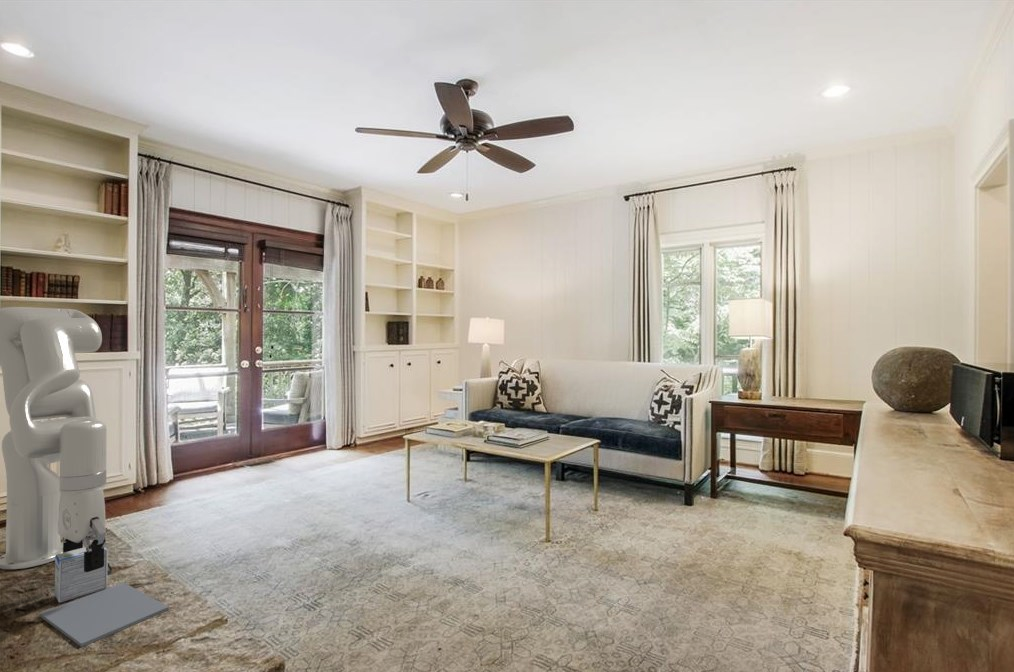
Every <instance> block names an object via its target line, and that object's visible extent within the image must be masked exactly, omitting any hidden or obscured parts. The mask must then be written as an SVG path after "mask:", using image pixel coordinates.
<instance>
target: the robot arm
mask: <svg viewBox="0 0 1014 672" xmlns="http://www.w3.org/2000/svg"><path fill="white" fill-rule="evenodd" d="M102 335H103V334H102V330H101V328H100V326H99V324H98V322H96V320H94V319H93V318H92V317H90V316H89V315H87V314H85V312H82V311H80V310H78V309H74V308H73V309H72V308H56V307H55V308H54V307H35V306H33V307H32V306H11V307H9V306H8V307H2V308H0V369H1V375H2V383H3V384H2V385H3V391H4V392H3V393H4V400H5V407H6V411H7V414H8V416H9V426H10V427H9V428H10V431H8V432H7V433H6V434H5V435H4V436H3V438H2V441H1V452H2V457H3V461H4V462H3V463H4V467H5V473H6V475H5V476H6V478H5V479H6V519H5V521H6V522H5V523H6V524H5V527H6V529H5V530H6V531H5V536H6V537H5V541H6V542H5V553H4V554H2V555H1V556H0V569H1V570H19V569H20V570H22V569H27V568H28V569H29V568H33V567H34V568H35V567H37V566H41V565H44V564H48V563H50V562H51V563H52V562H53V561H55V555H57V554H61V553H64V552H68V551H72V550H76V549H80V548H84V547H85V548H86V551H87V552H84V572H90V571H93V570H96V569H99V568H102V567H103V566H104V548H105V547H106V541H107V540H106V535H107V529H106V504H105V503H106V501H105V494H104V488H105V487H107V425H106V424H105V422H103V421H102V420H101V421H100V420H98V419H97V416H96V415H97V414H96V409H95V400H94V395H93V392H92V389H91V387H90V386H89V384H88V383H87V382H86V381H84V380H82V379H80V377H81V372H80V369H79V365H78V361H77V357H76V354H88V353H89V354H90V353H95V352H96V351H98V350H99V349H100V348H101V346H102V342H103V336H102ZM54 463H59V474H57V473H56V472H55V471H53V470H52V469H51V468H50V467H49V466H48V465H50V464H54ZM61 537H62V539H61ZM61 540H62V542H61ZM90 541H92V542H90ZM83 545H84V547H83Z"/></svg>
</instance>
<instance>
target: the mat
mask: <svg viewBox="0 0 1014 672" xmlns="http://www.w3.org/2000/svg"><path fill="white" fill-rule="evenodd" d="M167 611H169V606H168V605H166V604H164V603H162V602H160V601H159V600H156V599H154V598H153V597H151V596H150V595H147V594H146V593H144V592H141V591H140V590H138V589H136V588H135V587H133V586H131V585H129V584H128V583H126V582H121V583H120V584H119V583H118V584H117V585H114V586H110V587H107V588H106V589H103V590H99V591H96V592H93V593H90V594H87V595H84V596H83V597H79V598H77V599H73V601H69V602H66V603H64V604H61V605H58V606H56V607H51V608H49V609H46V610H44V611H41V612H38V613H39V617H40V618H41V619H43V621H45V622H47V623H48V624H49V625H51V626H52V627H53V628H54V629H56V630H58V631H59V632H60V633H62V634H63V635H64V636H66V637H67V638H69V640H71V641H72V642H74V643H75V644H76V645H78V646H79V647H80V648H83V647H85V646H88V645H90V644H92V643H95V642H97V641H99V640H102V639H104V638H106V637H108V636H111V635H114V634H115V633H118V632H120V631H123V630H125V629H127V628H130V627H132V626H134V624H135V625H137V624H139V623H141V621H142V622H144V621H147V620H149V619H151V618H154V617H155V616H158V615H161V614H162V613H165V612H167Z"/></svg>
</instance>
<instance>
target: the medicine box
mask: <svg viewBox="0 0 1014 672" xmlns="http://www.w3.org/2000/svg"><path fill="white" fill-rule="evenodd" d="M84 552H87V551H86V548H85V546H84V547H83V548H80V549H76V550H72V551H68V552H64V553H61V554H57V555H55V560H54V561H55V562H54V595H55V598H56V601H58V603H59V604H60V603H63V602H66V601H70V600H74V599H76V598H77V599H78V598H81V597H82V596H83V597H84V596H87V595H91V594H94V593H97V592H99V591H102V590H105V589H108V575H107V566H108V564H109V562H108V557H109V556H108V555H109V549H108V548H107V547H106V546H105V548H104V566H103V567H102V568H99V569H96V570H93V571H90V572H84Z"/></svg>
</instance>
